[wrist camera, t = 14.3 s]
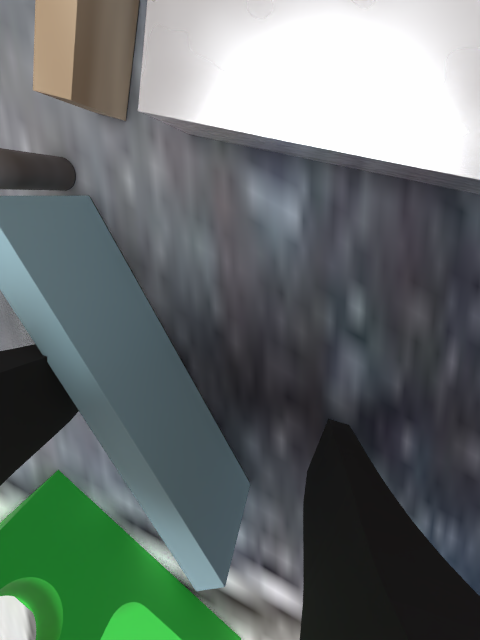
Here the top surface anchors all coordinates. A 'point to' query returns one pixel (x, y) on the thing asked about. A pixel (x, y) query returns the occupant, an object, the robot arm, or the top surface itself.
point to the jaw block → (324, 81)
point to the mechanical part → (93, 575)
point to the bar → (123, 376)
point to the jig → (75, 76)
